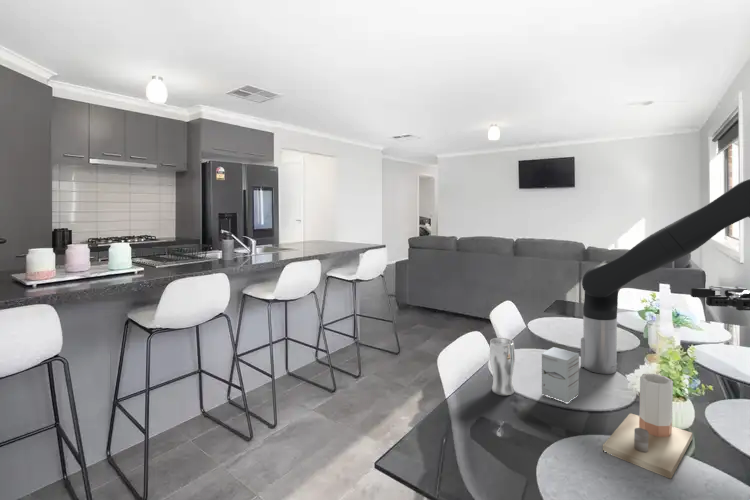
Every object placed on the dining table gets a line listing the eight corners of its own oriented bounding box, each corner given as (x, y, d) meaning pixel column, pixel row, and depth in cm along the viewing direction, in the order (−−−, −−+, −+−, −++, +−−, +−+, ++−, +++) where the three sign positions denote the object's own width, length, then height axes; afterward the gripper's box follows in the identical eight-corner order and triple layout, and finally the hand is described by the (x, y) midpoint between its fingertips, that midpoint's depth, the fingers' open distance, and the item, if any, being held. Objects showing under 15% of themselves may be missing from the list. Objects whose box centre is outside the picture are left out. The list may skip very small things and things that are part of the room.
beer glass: (517, 397, 108) (516, 345, 107) (491, 396, 110) (490, 345, 108) (513, 385, 115) (512, 337, 113) (489, 385, 116) (488, 337, 115)
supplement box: (540, 396, 108) (540, 353, 107) (553, 387, 113) (553, 345, 111) (567, 405, 102) (567, 360, 101) (579, 396, 107) (579, 352, 106)
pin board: (602, 451, 83) (602, 427, 83) (630, 418, 95) (630, 397, 94) (671, 479, 74) (671, 452, 73) (692, 439, 86) (692, 415, 85)
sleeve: (636, 429, 88) (637, 379, 86) (644, 419, 91) (645, 371, 90) (666, 439, 83) (668, 387, 82) (673, 429, 87) (675, 378, 86)
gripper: (768, 276, 93) (686, 275, 98) (811, 289, 79) (713, 287, 85) (766, 306, 93) (685, 304, 99) (808, 324, 80) (711, 320, 86)
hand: (698, 296), depth 92 cm, fingers open, 8 cm apart
